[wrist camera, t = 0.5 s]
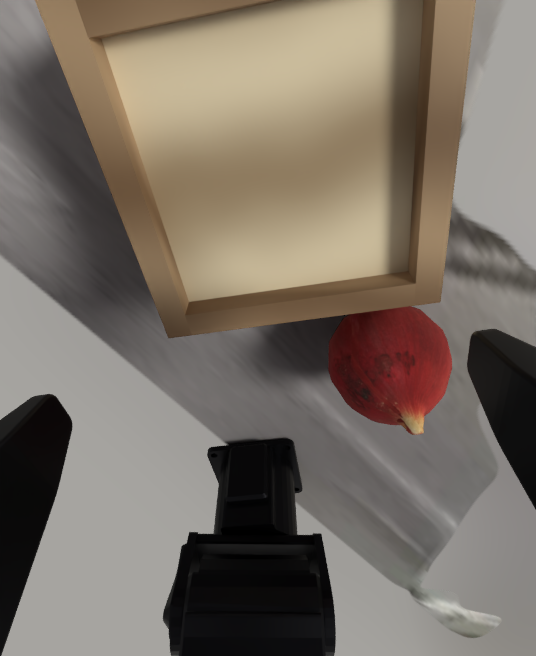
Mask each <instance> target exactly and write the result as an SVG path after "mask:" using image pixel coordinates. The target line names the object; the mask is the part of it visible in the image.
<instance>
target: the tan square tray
mask: <svg viewBox="0 0 536 656" xmlns="http://www.w3.org/2000/svg"><path fill="white" fill-rule="evenodd" d="M35 2H36V4H37V7H38V9H39V12H40V14H41V17H42V19H43V22H44V24H45V27H46V29H47V32H48V34H49V37H50V39H51V42H52V45H53V47H54V50H55V52H56V55H57V57H58V60H59V62H60V65H61V67H62V70H63V72H64V75H65V77H66V80H67V83H68V85H69V88H70V90H71V93H72V95H73V98H74V100H75V103H76V105H77V108H78V110H79V113H80V115H81V118H82V120H83V123H84V126H85V128H86V131H87V133H88V136H89V138H90V141H91V143H92V146H93V148H94V151H95V153H96V156H97V158H98V161H99V163H100V166H101V169H102V171H103V174H104V176H105V179H106V181H107V184H108V186H109V189H110V191H111V194H112V196H113V199H114V201H115V204H116V207H117V209H118V212H119V214H120V217H121V219H122V222H123V224H124V227H125V229H126V232H127V234H128V237H129V239H130V242H131V244H132V247H133V250H134V252H135V255H136V257H137V260H138V262H139V265H140V267H141V270H142V272H143V275H144V277H145V280H146V282H147V285H148V287H149V290H150V293H151V295H152V298H153V300H154V303H155V305H156V308H157V310H158V313H159V315H160V318H161V320H162V323H163V325H164V328H165V331H166V333H167V336H168V338H174V337H182V336H189V335H197V334H204V333H212V332H219V331H227V330H235V329H242V328H250V327H257V326H265V325H272V324H280V323H287V322H295V321H302V320H310V319H317V318H325V317H332V316H340V315H347V314H355V313H363V312H370V311H378V310H385V309H393V308H400V307H408V306H415V305H423V304H430V303H438V302H440V301H441V293H442V284H443V276H444V267H445V259H446V250H447V242H448V233H449V225H450V216H451V208H452V199H453V190H454V182H455V173H456V165H457V156H458V148H459V139H460V131H461V122H462V114H463V105H464V97H465V88H466V80H467V71H468V63H469V54H470V46H471V37H472V29H473V20H474V11H475V3H476V0H35Z"/></svg>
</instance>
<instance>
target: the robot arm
mask: <svg viewBox="0 0 536 656" xmlns="http://www.w3.org/2000/svg"><path fill="white" fill-rule="evenodd" d="M467 367H468V372H469V375H470V378H471V380H472V382H473V385H474V387H475V390H476V392H477V394H478V397H479V399H480V402H481V404H482V406H483V409H484V411H485V414H486V416H487V418H488V420H489V423H490V425H491V428H492V430H493V432H494V435H495V437H496V439H497V441H498V443H499V445H500V447H501V449H502V451H503V452H504V454H505V456H506V458H507V460H508V461H509V463H510V465H511V467H512V468H513V470H514V472H515V474H516V476H517V477H518V479H519V481H520V483H521V484H522V486H523V488H524V490H525V491H526V493H527V495H528V497H529V499H530V500H531V502H532V504H533V506H534V507H535V509H536V347H534V346H532V345H530V344H528V343H526V342H523V341H521V340H519V339H517V338H515V337H512V336H510V335H508V334H506V333H504V332H502V331H499V330H497V329H487V330H481V331H475V332H474V333H473V334H472V336H471V339H470V346H469V354H468V361H467ZM71 431H72V420H71V418H70V416H69V415H68V414H67V412H66V410H65V409H64V407H63V406H62V404H61V403H60V402H59V400H58V399H57V397H56V396H54V395H52V394H46V395H39V396H34V397H32V398H30V399H29V400H27V401H26V402H25V403H23V404H22V405H20V406H19V407H18V408H17V409H15V410H14V411H12V412H11V413H9V414H8V415H7V416H5V417H4V418H2V419H1V420H0V656H1V655H2V652H3V649H4V646H5V643H6V640H7V637H8V634H9V631H10V628H11V626H12V623H13V619H14V617H15V614H16V611H17V608H18V605H19V602H20V599H21V597H22V593H23V590H24V588H25V585H26V582H27V579H28V576H29V573H30V570H31V567H32V564H33V561H34V558H35V556H36V553H37V550H38V547H39V544H40V541H41V538H42V535H43V532H44V530H45V527H46V524H47V521H48V518H49V515H50V512H51V509H52V506H53V503H54V500H55V497H56V494H57V490H58V487H59V482H60V479H61V474H62V469H63V466H64V462H65V457H66V453H67V449H68V445H69V440H70V436H71ZM207 455H208V458H209V461H210V463H211V465H212V468H213V471H214V473H215V475H216V478H217V480H218V483H219V488H218V498H217V508H216V516H215V525H214V534H198V532H189V536H188V540H187V544H185V545H183V546H182V548H181V553H180V559H179V565H178V570H177V574H176V577H175V580H174V583H173V586H172V589H171V592H170V594H169V597H168V600H167V603H166V606H165V609H164V613H163V621H164V623H165V624H166V626H167V627H168V629H169V639H170V652H171V656H334V653H335V637H336V636H335V614H334V604H333V597H332V591H331V585H330V579H329V574H328V568H327V563H326V557H325V552H324V546H323V541H322V535H321V534H313V535H297V522H296V507H295V493H299V492H301V491H302V482H301V477H300V472H299V467H298V462H297V457H296V451H295V446H294V442H293V441H292V440H290V439H283V440H274V441H264V442H255V443H245V444H236V445H226V446H217V447H211V448H209V449H208V454H207Z"/></svg>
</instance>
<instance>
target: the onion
mask: <svg viewBox="0 0 536 656" xmlns="http://www.w3.org/2000/svg"><path fill="white" fill-rule="evenodd" d="M451 370H452V358H451V354H450V350H449V346H448V342H447V339H446V337H445V334H444V332H443V330H442V329H441V328H440V327H439V326H438V325H437V324H436V323H434V322H433V321H432V320H431V319H430V318H429V317H428V316H427V315H426V314H425V313H424V312H422V311H421V310H420V309H417V308H414V307H411V306H408V307H400V308H393V309H385V310H378V311H370V312H363V313H355V314H349V315H348V316H346V317H345V318H343V320H342V321H341V323H340V324H339V326H338V328H337V329H336V331H335V333H334V334H333V336H332V338H331V339H330V341H329V365H328V371H329V374H330V377H331V380H332V383H333V384H334V385H335V387H336V388H337V390H338V391H339V393H340V394H341V396H342V397H343V399H344V400H345V402H346V403H347V404H348V405H349V406H350V407H351V408H352V409H354V410H355V411H357V412H358V413H360V414H361V415H363V416H365V417H367V418H368V419H370V420H372V421H375V422H378V423H384V424H390V425H402V426H403V427H404V428H405V429H406V431H408V432H409V433H410V434H412V435H415V434H416V435H417V434H422V433H424V430H423V424H424V416H425V415H426V414H428V413H429V412H430V411H431V410H432V409H433V408H434V407H435V406H436V404H437V403H438V402H439V401H440V400H441V399H442V397H443V396H444V394H445V391H446V388H447V384H448V381H449V377H450V374H451Z"/></svg>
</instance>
